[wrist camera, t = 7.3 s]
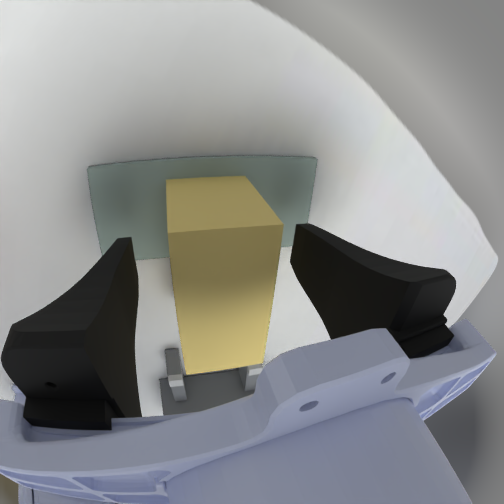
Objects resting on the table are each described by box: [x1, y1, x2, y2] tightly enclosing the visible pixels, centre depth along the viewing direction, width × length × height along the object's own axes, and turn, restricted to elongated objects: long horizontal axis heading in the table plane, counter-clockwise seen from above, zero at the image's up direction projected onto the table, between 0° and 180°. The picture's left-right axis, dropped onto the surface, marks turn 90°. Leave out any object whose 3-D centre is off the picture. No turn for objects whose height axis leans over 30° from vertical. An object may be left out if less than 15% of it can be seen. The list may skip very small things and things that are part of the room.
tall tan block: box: [166, 176, 284, 375], centre depth 14 cm, size 4×8×6 cm, turn 175°
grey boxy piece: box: [160, 349, 263, 415], centre depth 22 cm, size 9×10×6 cm
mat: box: [87, 156, 318, 260], centre depth 15 cm, size 12×6×1 cm, turn 85°
